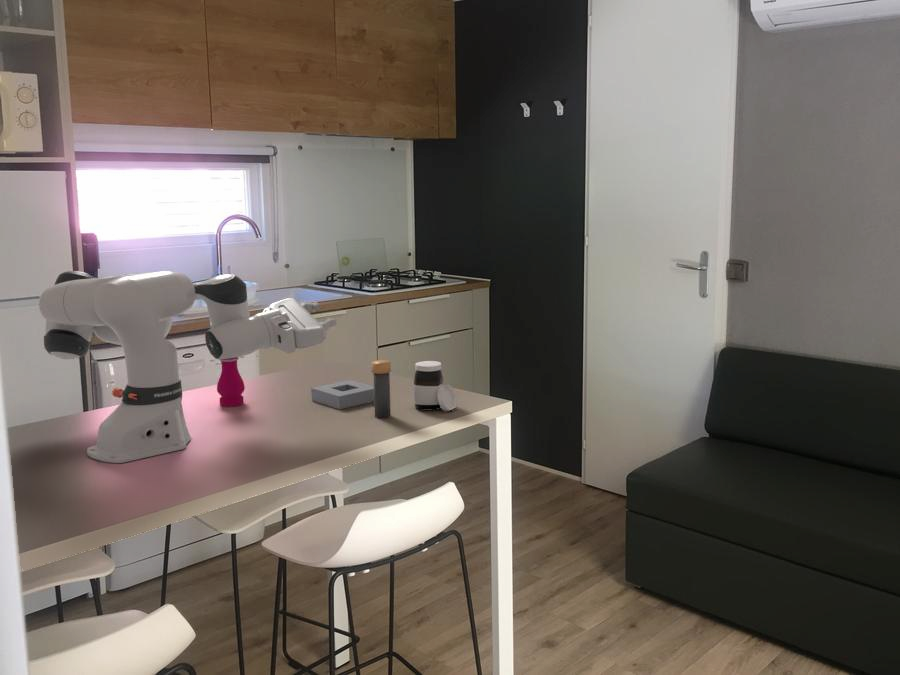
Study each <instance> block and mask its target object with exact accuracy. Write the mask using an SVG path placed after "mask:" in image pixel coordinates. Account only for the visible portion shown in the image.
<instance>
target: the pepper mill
mask: <svg viewBox="0 0 900 675" xmlns="http://www.w3.org/2000/svg"><path fill="white" fill-rule="evenodd" d="M239 359H240V357H235V358H229V359H218V360H219V361H220V362H221V373H220V377H219V378H218V381H217V384H216V391H217V393H218V394H219V395H220V398H219V405H220V406H221V405H222V407H225V406H232V407H239V406H241V405H243V404H244V403H245V402H244V401H245V400H244V396H243V395H242V394H243V393H244V392H245V389H246V387H245V382H244V380H243V378H242V376H241V374H240V371H239V368H238V360H239Z"/></svg>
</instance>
